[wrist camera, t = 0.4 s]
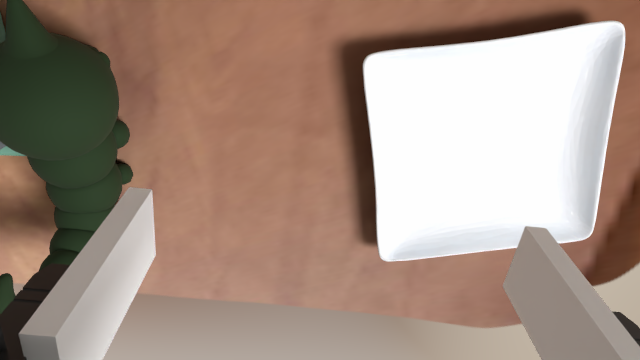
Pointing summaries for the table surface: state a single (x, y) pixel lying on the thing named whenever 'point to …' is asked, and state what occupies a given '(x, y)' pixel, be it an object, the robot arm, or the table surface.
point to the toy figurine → (61, 128)
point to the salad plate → (490, 139)
